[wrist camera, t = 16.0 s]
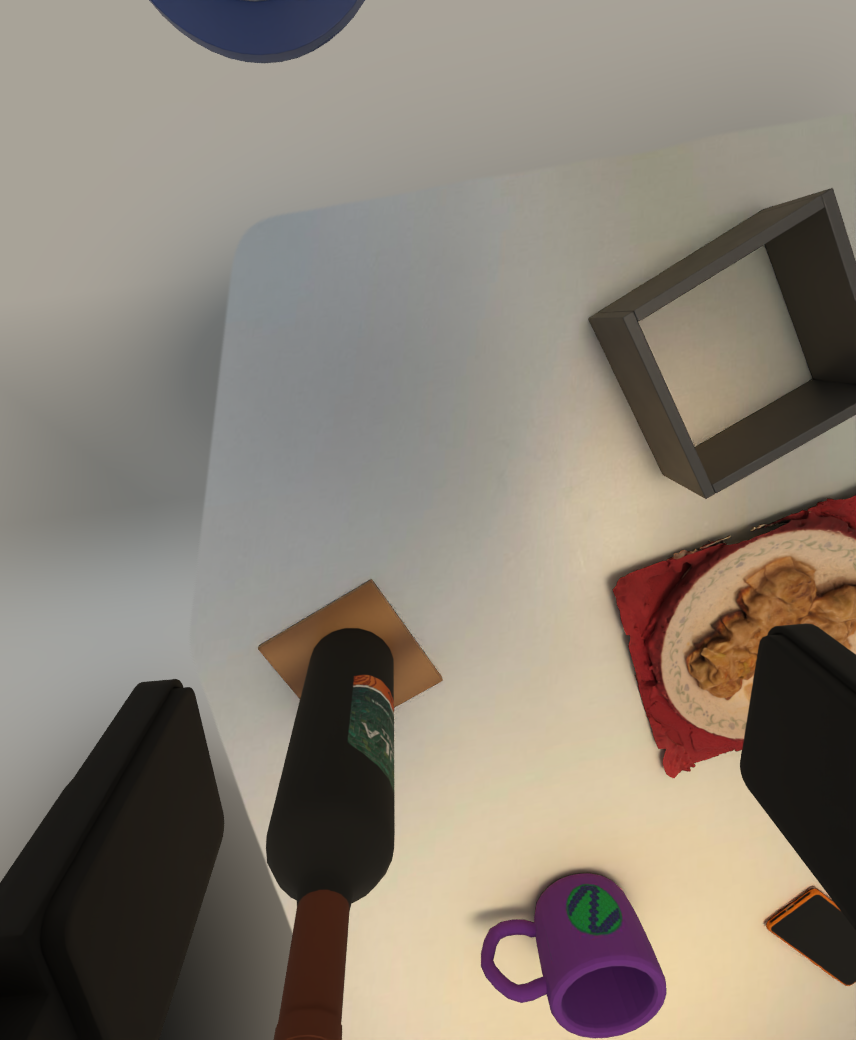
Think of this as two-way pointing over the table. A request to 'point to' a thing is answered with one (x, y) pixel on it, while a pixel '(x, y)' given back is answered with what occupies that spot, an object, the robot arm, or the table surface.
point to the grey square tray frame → (817, 319)
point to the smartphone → (819, 934)
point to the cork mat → (353, 611)
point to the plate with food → (732, 623)
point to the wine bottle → (333, 819)
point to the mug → (585, 958)
